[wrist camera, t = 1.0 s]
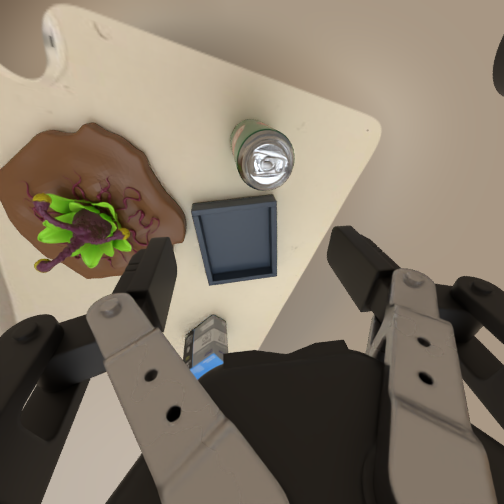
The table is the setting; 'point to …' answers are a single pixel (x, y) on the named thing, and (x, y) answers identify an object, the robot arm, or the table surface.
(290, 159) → the soda can
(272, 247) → the container
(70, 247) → the plant
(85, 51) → the table surface
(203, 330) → the label tape box
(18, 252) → the table surface
